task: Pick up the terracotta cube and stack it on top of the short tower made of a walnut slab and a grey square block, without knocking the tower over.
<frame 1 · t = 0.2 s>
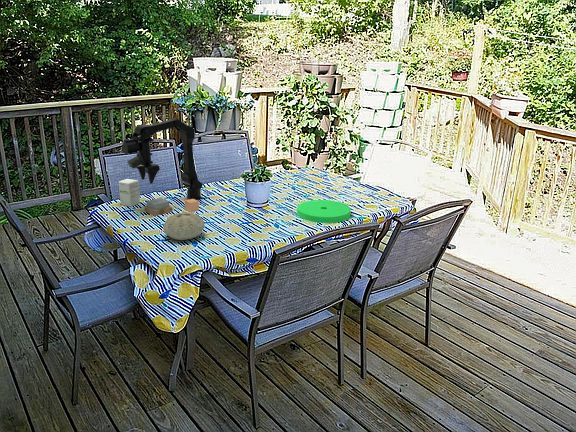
hand: (147, 181, 252), 14 cm above the table, tool pointing down, fingers open, 9 cm apart
terracotta cube: (192, 210, 257), on the table
supplement box: (130, 204, 264), on the table
grey square block: (158, 206, 253), point 2 cm above the table, touching walnut slab
walnut slab: (158, 212, 254), on the table, touching grey square block
disc: (323, 214, 255), on the table
decorative shell: (184, 236, 223), on the table
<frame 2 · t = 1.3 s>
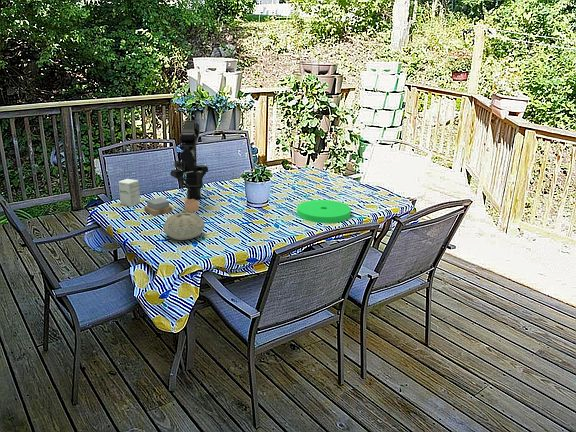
hand: (190, 187, 253), 12 cm above the table, tool pointing down, fingers open, 9 cm apart
grey square block: (158, 206, 253), point 2 cm above the table
walnut slab: (158, 212, 254), on the table
everything else where it was.
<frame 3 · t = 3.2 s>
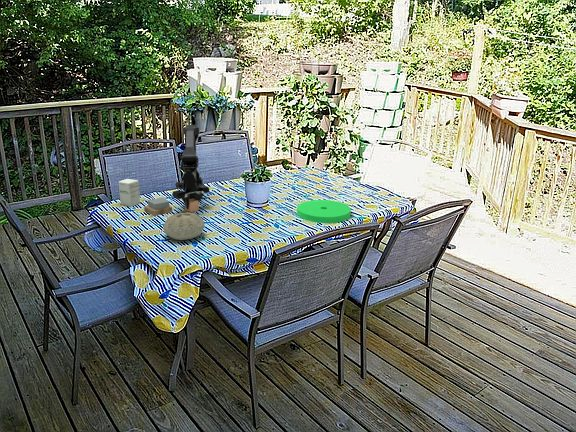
hand: (191, 207, 256), 1 cm above the table, tool pointing down, fingers closed on terracotta cube, 5 cm apart
terracotta cube: (192, 209, 257), on the table, touching gripper
everything else where it was.
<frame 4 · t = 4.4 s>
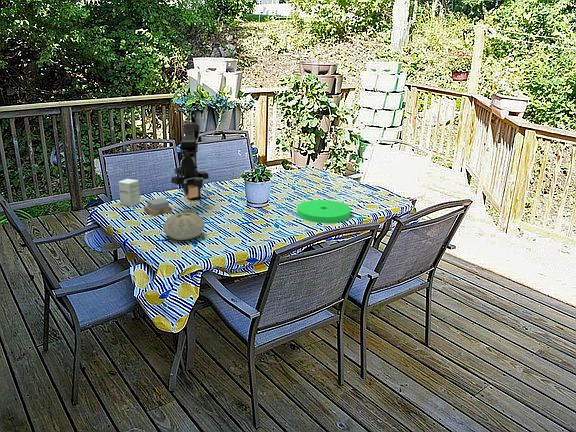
hand: (191, 194, 254), 8 cm above the table, tool pointing down, fingers closed on terracotta cube, 5 cm apart
terracotta cube: (191, 196, 254), point 7 cm above the table, touching gripper
grey square block: (158, 206, 253), point 2 cm above the table, touching walnut slab
walnut slab: (158, 212, 254), on the table, touching grey square block
everything else where it was.
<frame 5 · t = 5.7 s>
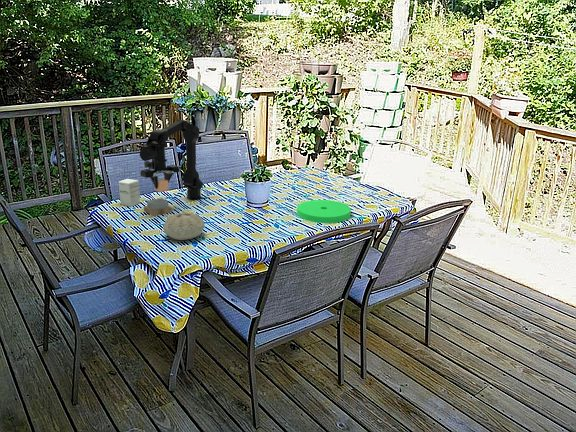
hand: (161, 187, 250), 12 cm above the table, tool pointing down, fingers closed on terracotta cube, 5 cm apart
terracotta cube: (161, 189, 250), point 11 cm above the table, touching gripper
everything else where it was.
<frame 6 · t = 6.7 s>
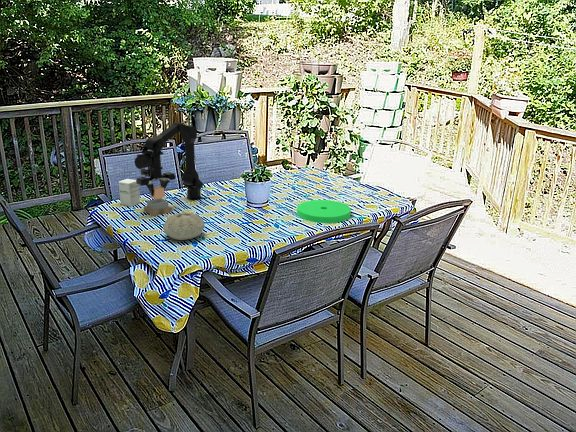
hand: (157, 195, 251), 8 cm above the table, tool pointing down, fingers closed on terracotta cube, 5 cm apart
terracotta cube: (157, 197, 251), point 7 cm above the table, touching gripper
everything else where it was.
when the fingers open (8 cm above the table, at t = 7.6 s): terracotta cube drops 2 cm, resting on grey square block.
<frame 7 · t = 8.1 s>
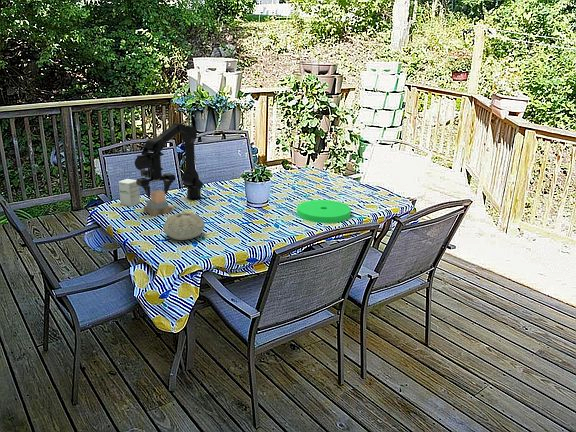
hand: (157, 196, 251), 8 cm above the table, tool pointing down, fingers open, 9 cm apart
terracotta cube: (158, 201, 252), point 5 cm above the table, touching grey square block
grey square block: (157, 207, 252), point 2 cm above the table, touching terracotta cube, walnut slab
everything else where it was.
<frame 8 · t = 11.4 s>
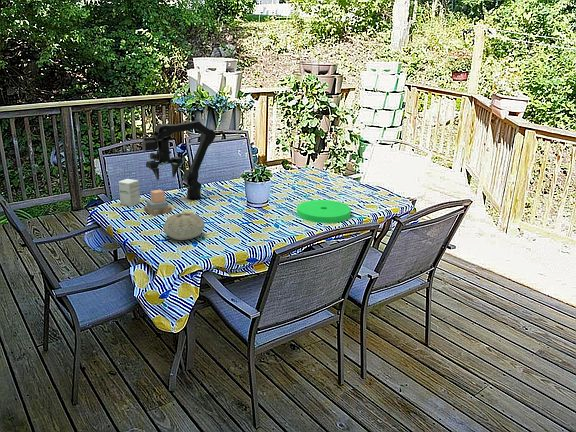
hand: (165, 178, 263), 13 cm above the table, tool pointing down, fingers open, 9 cm apart
terracotta cube: (158, 200, 252), point 5 cm above the table
grey square block: (157, 207, 253), point 2 cm above the table, touching walnut slab
everything else where it was.
at the end: terracotta cube 0.7 cm off-centre on the grey square block, point 3.0 cm above the grey square block's base; grey square block 0.3 cm off-centre on the walnut slab, point 3.0 cm above the walnut slab's base; the gripper is holding nothing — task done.
